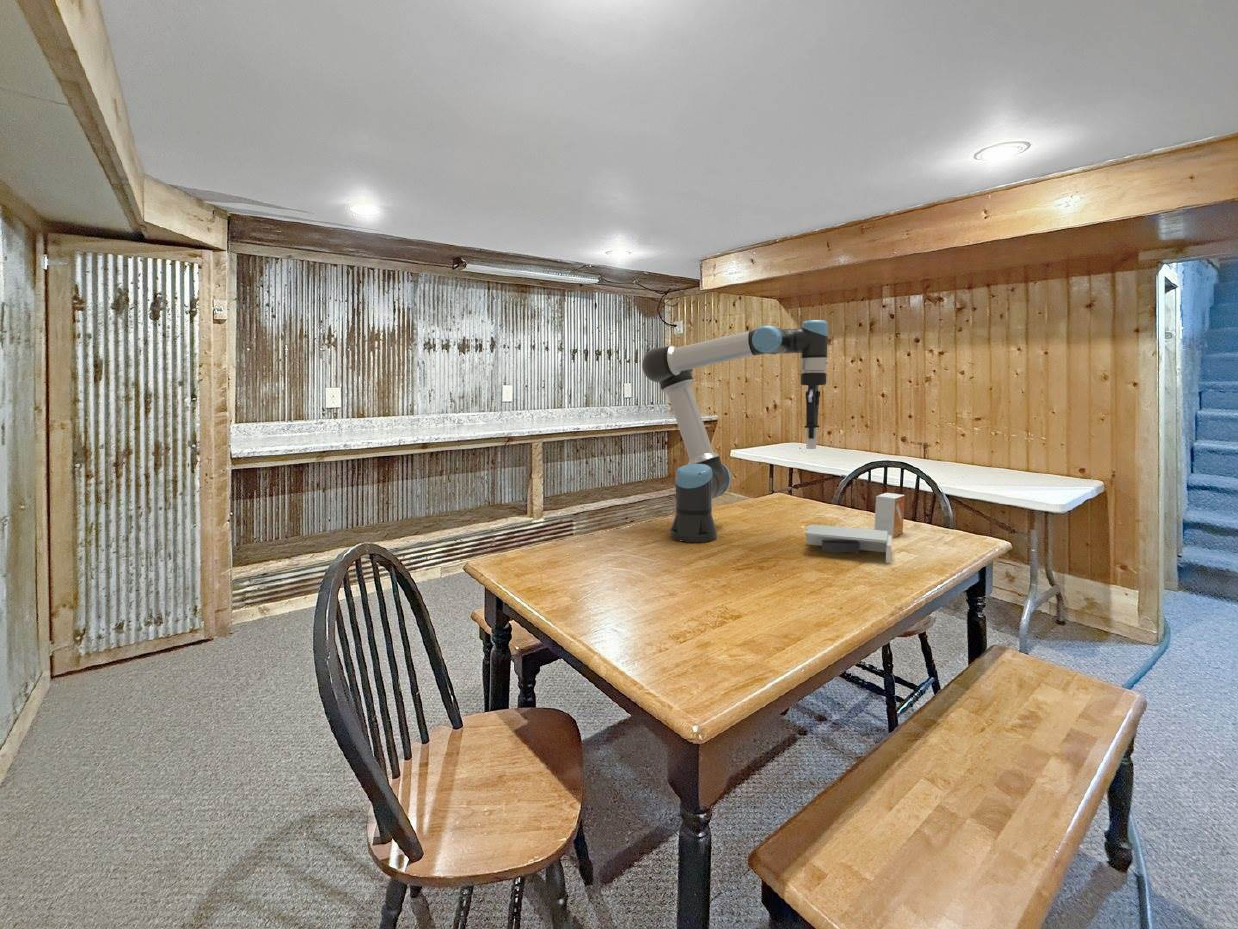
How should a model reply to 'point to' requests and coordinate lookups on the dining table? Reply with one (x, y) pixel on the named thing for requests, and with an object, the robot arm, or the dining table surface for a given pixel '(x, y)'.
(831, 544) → the dark blue-grey block
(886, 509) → the small box
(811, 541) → the grey bench block
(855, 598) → the dining table surface
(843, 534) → the cover
